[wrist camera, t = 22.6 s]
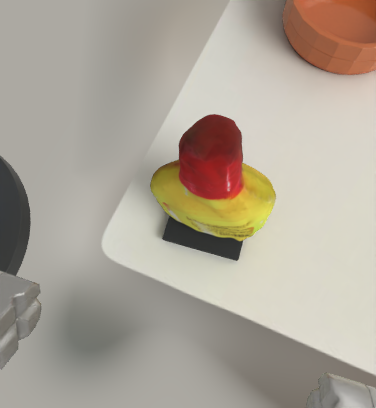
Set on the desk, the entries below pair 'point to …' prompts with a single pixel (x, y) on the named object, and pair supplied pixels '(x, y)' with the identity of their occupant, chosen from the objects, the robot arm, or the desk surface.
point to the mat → (201, 240)
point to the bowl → (333, 33)
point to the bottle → (214, 182)
